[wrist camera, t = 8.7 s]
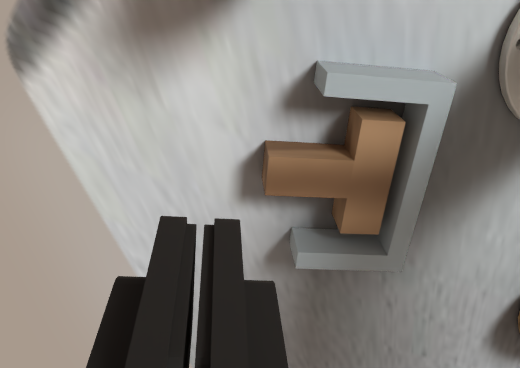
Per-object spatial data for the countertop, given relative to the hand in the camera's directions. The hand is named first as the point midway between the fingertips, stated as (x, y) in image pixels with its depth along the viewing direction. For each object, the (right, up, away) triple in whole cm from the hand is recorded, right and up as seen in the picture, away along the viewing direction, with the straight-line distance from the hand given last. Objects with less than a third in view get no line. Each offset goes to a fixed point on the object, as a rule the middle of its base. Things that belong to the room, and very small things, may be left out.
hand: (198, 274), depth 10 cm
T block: (+6, +4, +25) cm, 26 cm away
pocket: (+9, +4, +25) cm, 27 cm away
